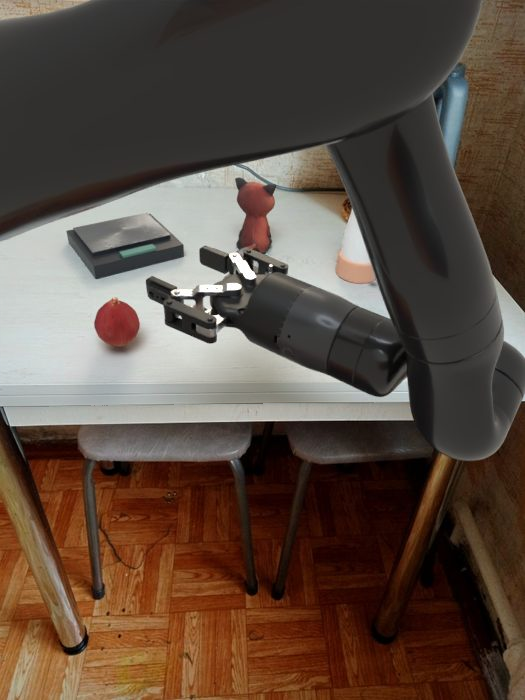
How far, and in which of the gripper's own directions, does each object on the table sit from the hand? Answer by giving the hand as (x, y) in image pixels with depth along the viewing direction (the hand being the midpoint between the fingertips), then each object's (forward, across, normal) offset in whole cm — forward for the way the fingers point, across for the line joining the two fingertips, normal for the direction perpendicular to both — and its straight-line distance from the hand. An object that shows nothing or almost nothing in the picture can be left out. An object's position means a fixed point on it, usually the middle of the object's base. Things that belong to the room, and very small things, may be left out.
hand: (176, 268), depth 56 cm
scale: (+30, -19, +16) cm, 39 cm away
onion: (+11, 0, +16) cm, 20 cm away
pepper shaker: (-6, -39, +17) cm, 43 cm away
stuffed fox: (+14, -34, +17) cm, 40 cm away
